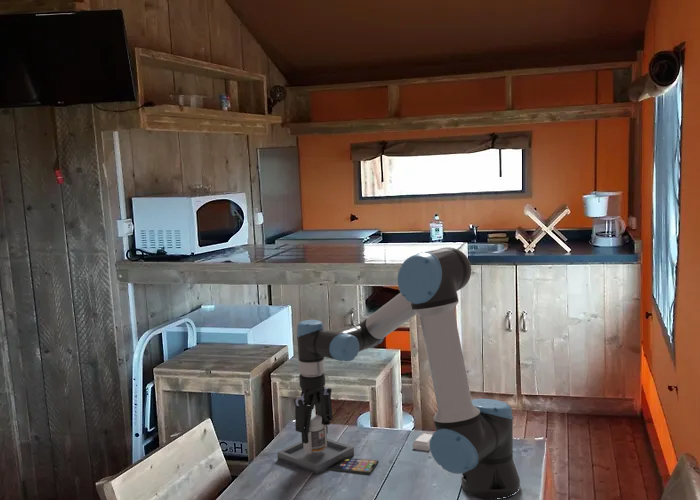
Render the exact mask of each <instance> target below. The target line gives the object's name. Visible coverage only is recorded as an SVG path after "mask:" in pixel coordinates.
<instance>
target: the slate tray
mask: <svg viewBox="0 0 700 500" xmlns="http://www.w3.org/2000/svg"><path fill="white" fill-rule="evenodd" d="M276 454H277V460H278V461H279V462H282V463H285V464H288V465H290V466H293V467H296V468H297V469H298V468H299V469H301V470H304V471H306V472H309V473H311V474H314V475H319V474H321V473H323V472H324V471H327V470H326V468H328V467H330V466H332V465H333V464H335V463H337V462H339V461H341V460H343V459H345V458H351V457H353V456H355V448H354V446H351V445H348V444H344V443H343V442H339V441H336V440H332V439H330V438H327V446H326V447H325V449H324V451H322V452H319V453H312V454H308V453H305V452H304V448H303V443H302V440H301V441H298V442H297V443H294V444H292V445H290V446H288V447H284V449H281V450H279V451H277V453H276Z"/></svg>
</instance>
